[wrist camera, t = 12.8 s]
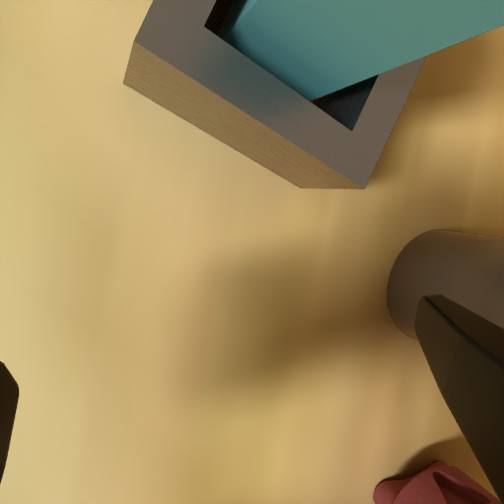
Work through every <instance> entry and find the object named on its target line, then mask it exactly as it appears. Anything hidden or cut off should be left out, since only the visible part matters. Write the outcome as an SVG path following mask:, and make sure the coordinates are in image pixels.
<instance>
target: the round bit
mask: <svg viewBox="0 0 504 504" xmlns="http://www.w3.org/2000/svg"><path fill="white" fill-rule="evenodd" d="M431 294H441V295H443V296H445V297H447V298H449V299H451V300H453V301H454V302H456V303H458V304H460V305H462V306H464V307H465V308H467V309H469V310H471V311H473V312H475V313H476V314H478V315H480V316H482V317H484V318H485V319H487V320H489V321H491V322H493V323H495V324H496V325H498V326H500V327H502V328H504V238H501V237H493V236H485V235H478V234H470V233H463V232H455V231H447V230H431V231H427V232H425V233H423V234H420V235H419V236H417V237H415V238H414V239H413V240H412V241H410V242H409V243H408V244H407V245H406V246H405V248H404V249H403V250H402V251H401V253H400V254H399V256H398V257H397V259H396V261H395V263H394V265H393V268H392V270H391V273H390V277H389V281H388V287H387V301H388V308H389V311H390V314H391V317H392V319H393V321H394V323H395V324H396V326H397V327H398V328H399V329H400V330H401V331H402V332H403V333H405V334H406V335H408V336H410V337H412V338H414V339H416V340H418V338H417V335H416V333H415V329H414V320H415V315H416V310H417V306H418V301H419V299H420V297H422V296H425V295H431ZM418 341H419V340H418Z"/></svg>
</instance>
